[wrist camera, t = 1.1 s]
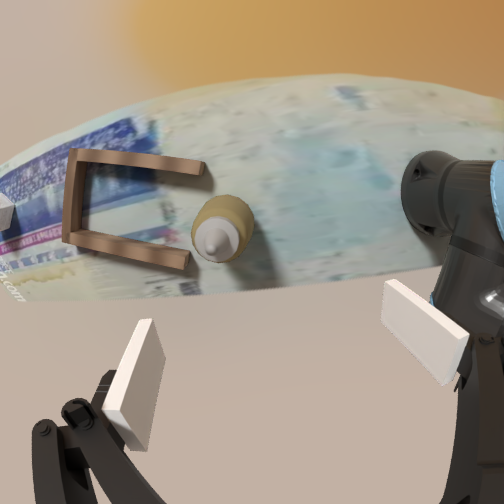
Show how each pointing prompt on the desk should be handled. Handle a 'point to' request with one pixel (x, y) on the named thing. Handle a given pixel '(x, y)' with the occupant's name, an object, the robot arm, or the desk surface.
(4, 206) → the skincare box
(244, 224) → the squeeze bottle
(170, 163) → the bottle rest
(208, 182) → the desk surface
